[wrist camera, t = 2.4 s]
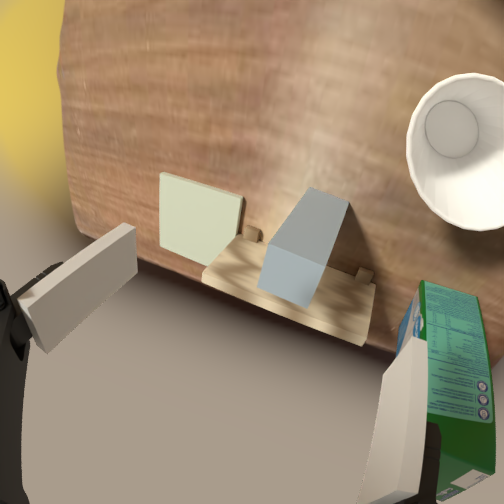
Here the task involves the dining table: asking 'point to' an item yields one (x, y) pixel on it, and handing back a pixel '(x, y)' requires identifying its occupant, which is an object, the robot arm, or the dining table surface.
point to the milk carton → (455, 383)
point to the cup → (460, 151)
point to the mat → (197, 218)
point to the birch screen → (316, 316)
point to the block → (302, 247)
